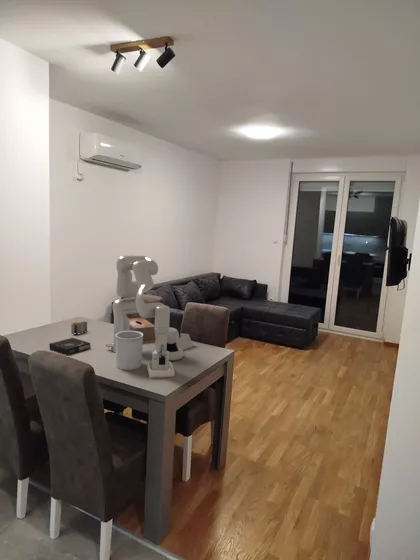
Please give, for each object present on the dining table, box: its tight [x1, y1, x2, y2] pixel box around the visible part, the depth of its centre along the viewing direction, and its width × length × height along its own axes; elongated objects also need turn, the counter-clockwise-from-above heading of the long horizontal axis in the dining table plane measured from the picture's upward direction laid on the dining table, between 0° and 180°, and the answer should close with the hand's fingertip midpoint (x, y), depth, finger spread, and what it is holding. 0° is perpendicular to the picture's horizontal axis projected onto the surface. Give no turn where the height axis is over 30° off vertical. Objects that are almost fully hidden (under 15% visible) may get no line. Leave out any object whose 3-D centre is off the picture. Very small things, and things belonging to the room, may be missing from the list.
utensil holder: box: [115, 331, 144, 371], centre depth 202 cm, size 15×15×18 cm
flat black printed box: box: [48, 337, 92, 356], centre depth 224 cm, size 16×17×4 cm
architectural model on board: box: [70, 320, 88, 336], centre depth 257 cm, size 11×3×10 cm, turn 150°
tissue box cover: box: [128, 317, 156, 343], centre depth 257 cm, size 26×14×10 cm, turn 30°
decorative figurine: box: [166, 326, 185, 361], centre depth 218 cm, size 15×15×20 cm
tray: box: [146, 361, 175, 379], centre depth 194 cm, size 13×13×4 cm
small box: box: [151, 349, 170, 371], centre depth 194 cm, size 8×6×10 cm
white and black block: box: [176, 333, 194, 351], centre depth 237 cm, size 17×5×10 cm, turn 142°
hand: (160, 361), depth 194 cm, fingers open, 9 cm apart
